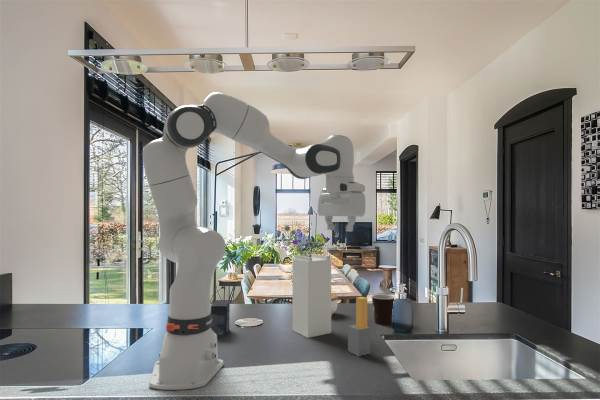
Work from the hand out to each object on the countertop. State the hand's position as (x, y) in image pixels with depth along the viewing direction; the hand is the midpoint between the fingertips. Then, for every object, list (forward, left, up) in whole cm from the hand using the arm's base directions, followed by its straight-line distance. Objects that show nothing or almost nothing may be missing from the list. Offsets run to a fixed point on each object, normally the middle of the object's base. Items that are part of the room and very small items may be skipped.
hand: (339, 230), depth 127 cm
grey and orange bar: (-6, -7, -29) cm, 30 cm away
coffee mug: (+30, -22, -37) cm, 53 cm away
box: (+18, +40, -37) cm, 58 cm away
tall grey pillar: (+18, +7, -37) cm, 42 cm away
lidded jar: (+42, 0, -37) cm, 56 cm away
